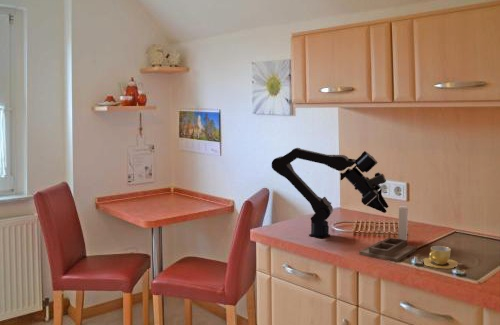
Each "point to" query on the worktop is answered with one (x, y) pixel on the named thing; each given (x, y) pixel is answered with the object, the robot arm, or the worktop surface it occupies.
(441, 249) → the cup
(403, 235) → the clay block
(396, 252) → the rack
